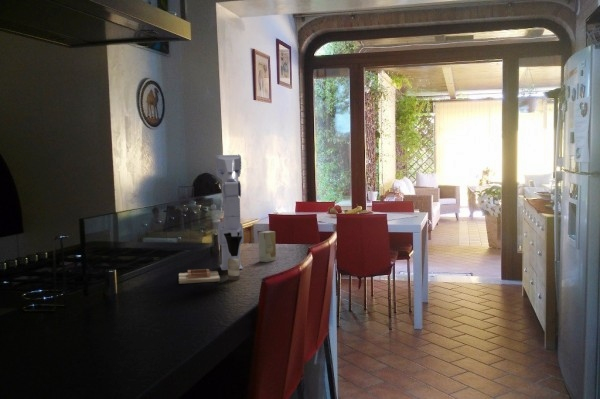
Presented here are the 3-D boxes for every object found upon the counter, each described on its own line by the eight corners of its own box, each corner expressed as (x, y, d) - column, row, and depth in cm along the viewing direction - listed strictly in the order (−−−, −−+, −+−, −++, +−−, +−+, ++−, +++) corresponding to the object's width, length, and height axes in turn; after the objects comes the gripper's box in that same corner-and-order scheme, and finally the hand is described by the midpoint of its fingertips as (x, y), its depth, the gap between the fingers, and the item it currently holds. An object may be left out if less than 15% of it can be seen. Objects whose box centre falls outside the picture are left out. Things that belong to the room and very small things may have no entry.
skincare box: (266, 262, 238) (265, 232, 237) (258, 261, 240) (257, 232, 240) (276, 260, 243) (275, 231, 242) (268, 259, 246) (267, 230, 245)
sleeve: (227, 278, 208) (227, 259, 207) (239, 277, 208) (238, 258, 208) (228, 280, 204) (228, 260, 203) (240, 280, 204) (239, 260, 204)
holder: (178, 275, 214) (178, 269, 214) (217, 273, 217) (217, 266, 217) (179, 283, 200) (178, 276, 200) (220, 281, 203) (219, 274, 203)
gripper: (219, 214, 211) (220, 251, 212) (222, 218, 197) (223, 258, 197) (238, 213, 212) (239, 250, 213) (243, 217, 198) (244, 257, 199)
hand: (233, 254), depth 205 cm, fingers open, 7 cm apart
